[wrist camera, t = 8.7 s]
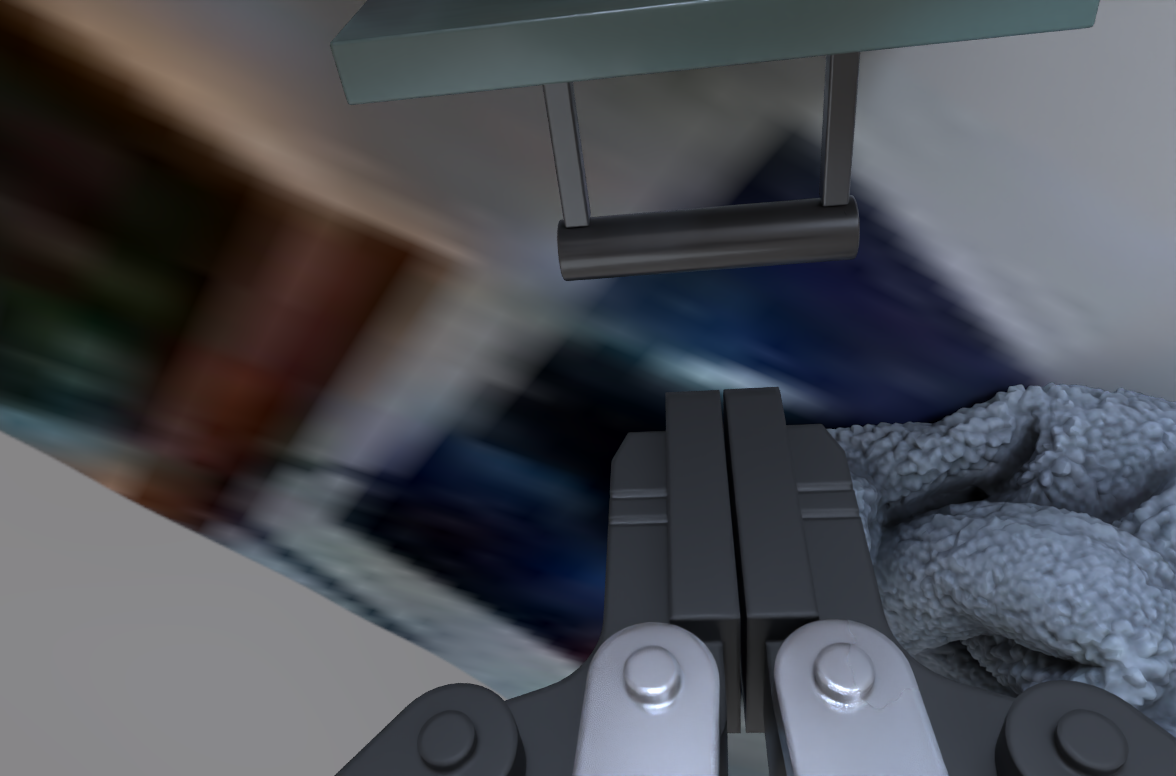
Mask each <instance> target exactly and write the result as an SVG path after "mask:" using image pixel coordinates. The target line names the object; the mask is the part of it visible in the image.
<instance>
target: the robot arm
mask: <svg viewBox="0 0 1176 776" xmlns="http://www.w3.org/2000/svg"><path fill="white" fill-rule="evenodd" d="M723 405H724V433H723V423H722V412H721V401H720V392H719V390H709V391H689V392H669V393H666V431H653V432H631V433H628V434H627V436H626V438H625V439H624V441H623V443H622V444H621V446H620V448H619V449H618V451H617V453H616V454H615V456H614V458H613V459H612V464H611V483H610V503H609V525H608V542H607V562H606V581H605V601H604V620H603V627H602V632H601V635H600V638H599V641H598V643H597V645H596V647H595V649H594V651H593V652H592V654H591V655H590V656H589V658H588V659H587V660H586V661H585V662H584V663H583V664H582V665H581V666H580V668H578V669H577V670H576V671H575V672H573V673H572V674H571V675H569V676H568V677H566V678H564V679H563V680H561V681H559V682H557V683H555V684H552V685H550V686H547V687H545V688H542V689H539V690H536V691H533V692H530V693H527V694H524V695H521V696H518V697H515V698H512V699H509V700H506V701H504V700H503V699H502V698H501V697H500V696H499V695H497V694H496V693H494V692H493V691H491V690H489V689H487V688H485V687H482V686H479V685H474V684H467V683H456V684H448V685H444V686H441V687H438V688H435V689H433V690H430V691H428V692H426V693H424V694H423V695H421V696H420V697H418V698H416V699H415V700H414V701H413V702H411V703H410V704H409V705H408V706H407V707H406V708H405V709H404V710H402V711H401V712H400V713H399V714H398V715H397V716H396V717H395V718H394V719H393V720H392V721H391V722H390V723H389V724H388V725H387V726H386V727H385V728H384V729H383V730H382V731H381V732H380V733H379V734H377V736H376V737H374V738H373V739H372V740H371V741H370V742H369V743H368V744H367V745H366V746H365V747H364V748H363V749H362V750H361V751H360V752H359V753H358V754H357V755H356V756H355V757H353V759H351V760H350V761H349V762H348V763H347V764H346V765H345V766H344V767H343V768H342V769H341V770H340V771H339V772H338V773H337V774H336V775H335V776H728V743H727V733H741V725H740V724H741V723H740V668H741V679H742V691H743V702H744V713H745V725H746V733H765V738H766V747H767V757H768V767H769V776H1176V737H1174V736H1173V735H1172V734H1170V733H1169V732H1168V731H1166V730H1165V729H1163V728H1162V727H1161V726H1159V725H1158V724H1157V723H1155V722H1154V721H1152V720H1151V719H1150V718H1148V717H1147V716H1146V715H1144V714H1143V713H1142V712H1140V711H1139V710H1137V709H1136V708H1135V707H1133V706H1132V705H1131V704H1129V703H1128V702H1126V701H1124V700H1123V699H1121V698H1120V697H1118V696H1116V695H1114V694H1112V693H1110V692H1108V691H1106V690H1104V689H1102V688H1099V687H1096V686H1093V685H1091V684H1086V683H1082V682H1078V681H1068V680H1054V681H1047V682H1042V683H1038V684H1036V685H1034V686H1031V687H1029V688H1027V689H1026V690H1025V691H1023V692H1022V693H1020V694H1019V695H1018V696H1017V698H1013V697H1010V696H1006V695H1003V694H999V693H996V692H992V691H989V690H985V689H981V688H978V687H974V686H971V685H967V684H964V683H960V682H957V681H954V680H951V679H949V678H946V677H944V676H942V675H940V674H937V673H935V672H933V671H932V670H930V669H929V668H927V667H925V666H924V665H922V664H921V663H919V662H918V661H917V660H916V659H915V658H913V657H912V656H911V655H910V654H909V653H908V652H907V651H906V650H905V649H904V648H903V647H902V646H901V645H900V643H899V642H898V641H897V639H896V638H895V636H894V635H893V633H892V631H891V629H890V627H889V626H888V623H887V620H886V617H885V614H884V610H883V605H882V601H881V597H880V593H879V589H878V585H877V581H876V577H875V573H874V569H873V564H872V560H871V556H870V552H869V548H868V544H867V540H866V536H865V532H864V528H863V523H862V519H861V517H860V516H859V507H858V503H857V499H856V495H855V491H854V490H853V482H852V478H851V474H850V470H849V466H848V462H847V458H846V454H845V451H844V450H843V448H842V447H841V446H840V445H839V444H838V443H837V441H836V440H835V439H834V438H833V437H832V435H831V434H830V433H829V432H828V431H827V430H826V428H825V427H824V426H823V425H822V424H806V425H786V422H785V416H784V411H783V405H782V399H781V394H780V390H779V387H765V388H745V389H725V390H724V393H723Z"/></svg>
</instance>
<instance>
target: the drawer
mask: <svg viewBox="0 0 1176 776" xmlns="http://www.w3.org/2000/svg"><path fill="white" fill-rule="evenodd" d="M1099 2H1100V0H367V1H366V3H365V4H364V5H363V6H362V7H361V8H360V9H359V11H358V12H357V13H356V14H355V15H354V16H353V17H352V19H351V20H350V21H349V22H348V23H347V24H346V25H345V27H344V28H343V29H342V30H341V31H340V32H339V33H338V35H337V36H336V37H335V38H334V39H333V40H332V41H331V43H330V47H331V50H332V54H333V57H334V60H335V63H336V67H337V70H338V73H339V76H340V79H341V83H342V86H343V89H344V92H345V96H346V99H347V102H348V104H350V105H356V104H365V103H375V102H384V101H394V100H403V99H413V98H423V97H432V96H442V95H451V94H461V93H470V92H480V91H489V90H499V89H509V88H518V87H528V86H537V85H543V92H544V98H545V104H546V110H547V117H548V123H549V129H550V136H551V142H552V148H553V154H554V161H555V167H556V173H557V180H558V186H559V192H560V199H561V205H562V211H563V217H564V220H560V221H559V224H558V231H557V242H558V256H559V264H560V269H561V274H562V277H563V279H564V280H565V281H574V280H588V279H601V278H614V277H627V276H640V275H654V274H667V273H680V272H693V271H706V270H719V269H733V268H746V267H759V266H772V265H785V264H799V263H812V262H825V261H838V260H851V259H855V257H856V255H857V252H858V247H859V214H858V208H857V203H856V200H855V198H854V196H852V195H849V194H850V181H851V168H852V155H853V141H854V128H855V115H856V102H857V89H858V76H859V63H860V52H862V51H872V50H882V49H891V48H901V47H910V46H920V45H929V44H939V43H948V42H958V41H968V40H977V39H987V38H996V37H1006V36H1015V35H1025V34H1035V33H1044V32H1054V31H1063V30H1073V29H1082V28H1090V27H1092V26H1093V25H1094V22H1095V18H1096V14H1097V10H1098V6H1099ZM824 55H826V69H825V89H824V108H823V128H822V147H821V166H820V186H819V196H820V198H813V199H801V200H789V201H777V202H766V203H754V204H742V205H730V206H718V207H707V208H695V209H683V210H671V211H659V212H648V213H636V214H624V215H612V216H600V217H590V216H591V212H590V205H589V198H588V190H587V183H586V176H585V168H584V161H583V154H582V146H581V139H580V132H579V124H578V117H577V110H576V102H575V95H574V87H573V82H576V81H585V80H595V79H604V78H614V77H623V76H633V75H642V74H652V73H662V72H671V71H681V70H690V69H700V68H709V67H719V66H729V65H738V64H748V63H757V62H767V61H776V60H786V59H795V58H805V57H815V56H824Z"/></svg>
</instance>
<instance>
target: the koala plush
mask: <svg viewBox="0 0 1176 776" xmlns="http://www.w3.org/2000/svg"><path fill="white" fill-rule="evenodd" d="M826 430H827V431H828V432H829V433H830V434H831V435H832V437H833V438H834V439H835V440H836V441H837V443H838V444H839V445H840V446H841V447H842V448H843V450H844V451H845V454H846V458H847V462H848V466H849V470H850V474H851V478H852V482H853V490H854V491H855V495H856V499H857V503H858V507H859V516H860V517H861V519H862V523H863V528H864V532H865V536H866V540H867V544H868V548H869V552H870V556H871V560H872V564H873V569H874V573H875V577H876V581H877V585H878V589H879V593H880V597H881V601H882V605H883V610H884V614H885V617H886V620H887V623H888V626H889V627H890V629H891V631H892V633H893V635H894V636H895V638H896V639H897V641H898V642H899V643H900V645H901V646H902V647H903V648H904V649H905V650H906V651H907V652H908V653H909V654H910V655H911V656H912V657H913V658H915V659H916V660H917V661H918V662H919V663H921V664H922V665H924V666H925V667H927V668H929V669H930V670H932V671H933V672H935V673H937V674H940V675H942V676H944V677H946V678H949V679H951V680H954V681H957V682H960V683H964V684H967V685H971V686H974V687H978V688H981V689H985V690H989V691H992V692H996V693H999V694H1003V695H1006V696H1010V697H1013V698H1017V696H1018V695H1019V694H1020V693H1022V692H1023V691H1025V690H1026V689H1027V688H1029V687H1031V686H1034V685H1036V684H1038V683H1042V682H1047V681H1054V680H1068V681H1078V682H1082V683H1086V684H1091V685H1093V686H1096V687H1099V688H1102V689H1104V690H1106V691H1108V692H1110V693H1112V694H1114V695H1116V696H1118V697H1120V698H1121V699H1123V700H1124V701H1126V702H1128V703H1129V704H1131V705H1132V706H1133V707H1135V708H1136V709H1137V710H1139V711H1140V712H1142V713H1143V714H1144V715H1146V716H1147V717H1148V718H1150V719H1151V720H1152V721H1154V722H1155V723H1157V724H1158V725H1159V726H1161V727H1162V728H1163V729H1165V730H1166V731H1168V732H1169V733H1170V734H1172V735H1173V736H1174V737H1176V402H1170V401H1166V400H1165V399H1163V398H1156V397H1153V396H1147V395H1143V394H1142V393H1135V392H1134V391H1128V390H1124V389H1123V388H1118V389H1117V391H1116V392H1113V393H1111V392H1109V391H1105V392H1104V391H1103V390H1102V389H1100V388H1098V389H1095V388H1089V387H1088V386H1081V385H1066V384H1059V385H1055V384H1054V383H1049V384H1047V385H1045V387H1040V386H1029V387H1028V388H1027V389H1026V390H1025V388H1024V386H1023V385H1022V384H1021V385H1016V386H1009V389H1008V391H1007V393H1006V392H998V393H996V396H995V397H993V398H992V399H991V400H989V401H986V402H985V403H981V404H975V405H974V406H973V407H972V408H961V409H959V410H958V411H957V412H956V413H953V414H952V415H951V416H945V417H944V418H943V419H942V420H941V421H938V422H936V423H933V424H931V423H920V422H915V423H912V422H907V423H905V424H899V423H894V424H889V423H884V422H880V423H879V424H878V425H877V426H876V425H870V424H867V425H865V426H864V427H862V426H860V425H852V426H851V428H849V427H848V428H840V427H839V428H837V429H826Z"/></svg>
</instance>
